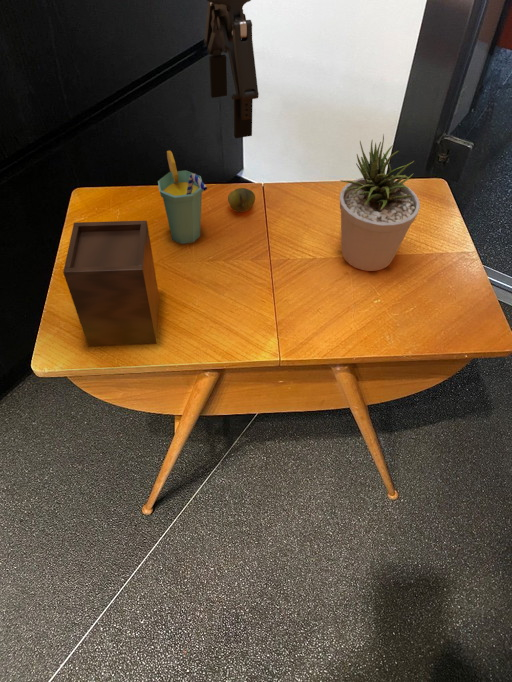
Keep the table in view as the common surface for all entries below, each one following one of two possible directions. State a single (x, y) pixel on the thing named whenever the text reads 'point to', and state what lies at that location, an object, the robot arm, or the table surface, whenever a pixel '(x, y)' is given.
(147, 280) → the dark brown box
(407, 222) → the potted plant
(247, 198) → the lime
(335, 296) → the table surface
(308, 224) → the table surface
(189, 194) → the cup
